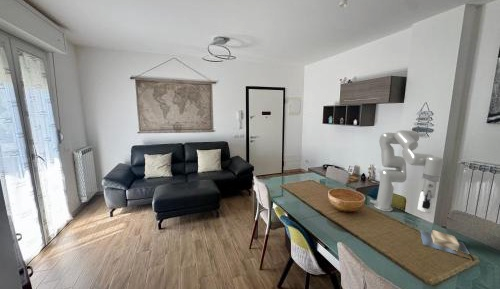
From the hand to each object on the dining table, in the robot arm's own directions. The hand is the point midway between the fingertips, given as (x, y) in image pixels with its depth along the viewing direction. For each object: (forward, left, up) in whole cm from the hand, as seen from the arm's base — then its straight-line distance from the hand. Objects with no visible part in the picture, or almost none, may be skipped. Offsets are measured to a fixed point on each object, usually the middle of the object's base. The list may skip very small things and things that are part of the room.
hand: (425, 205), depth 124 cm
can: (0, 0, -3) cm, 3 cm away
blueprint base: (+11, -1, -20) cm, 23 cm away
